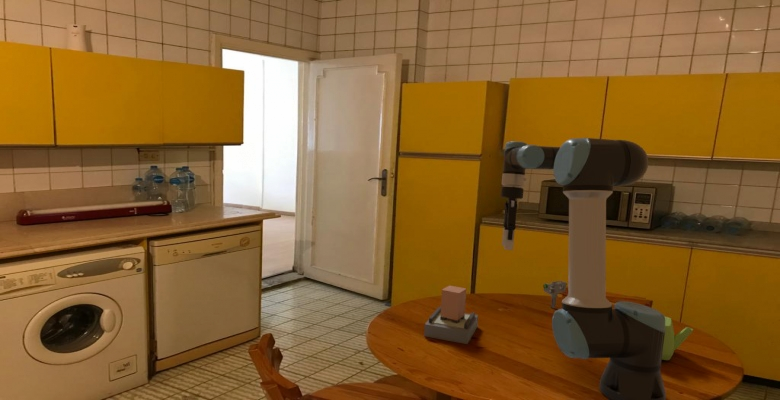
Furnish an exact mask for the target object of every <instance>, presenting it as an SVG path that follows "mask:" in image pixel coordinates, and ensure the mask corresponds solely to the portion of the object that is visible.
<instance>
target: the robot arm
mask: <svg viewBox="0 0 780 400" xmlns="http://www.w3.org/2000/svg"><path fill="white" fill-rule="evenodd" d="M504 146H505V147H504V151H503V155H504V156H503V165H502V174H501V175H502V176H501V185H502V187H501V189H500V197H501V198H506V199H507V200H506V201H505V203H504V217H503V225H502V226H503V230H502V231H503V232H502V240H501V241H502V242H501V246H502V247H504V248H503V249H504V250H508V251H514V239H515V232H516V231H515V230H516V228H517V226H516V220H517V209H518V201H517V199H518V200H521V199H524V198H523V197H524V191H525V190H524V188H523V187H524V185H525V182H526V181H527V178H526V176H525V175H526V170H552V171H553V176H554V181H555V182H556V183H557V184H559V185H560V186H562V193H563V195H565V197H567V199H568V281H567V282H568V283H567V284H568V286H567V289H568V293H567V295H566V296H565V298H563V299H562V300H561V308H558V309H557V310H555V311H554V313H553V315H552V319H551V321H552V322H551V325H552V326H551V327H552V334H553V336H554V339H555V342H556V344H557V347H558V349H560V351H561V352H562V354H564V355H565V356H566V357H568V358H572V359H582V360H587V359H608V358H609V360H608V362H607V364H606V367H605V369H604V370H603V373H602V374H601V377H600V378H599V379H600V380H599V391H600V392H601V393H602V395H604V397H606V398H607V399H608V400H666V396H667V395H666V394H667V393H666V389H665V384H664V381H663V376H662V373H661V372H662V371H661V368H662V361H663V360H662V352H663V343H664V335H665V333H666V331H665V317H666V316H665V315H664V314H663V313H662V312H660V311H659V310H657V309H656V308H652V307H651V306H647V305H644V304H640V303H637V302H632V301H626V300H625V301H624V300H618V301H617V302H615V303H614V305H613V304H612V303H611V302H610V300H608V298H607V296H606V292H607V291H606V290H607V289H606V287H607V286H606V285H607V284H606V280H607V279H606V275H607V274H606V273H607V272H606V266H607V265H606V260H607V258H606V257H607V256H606V255H607V253H606V252H607V250H606V249H607V239H606V238H607V199H608V198H609V197H610V196H611V195H612V194H613V193H614V187H625V186H629V185H632V184H635V183H637V182H639V181H640V180H641V179H643V177H644V176H645V174H646V173H647V170H648V168H649V158H648V155H647V153H646V151H645V149H644V148H643V147H641V146H640V145H639V144H637V143H635V142H633V141H630V140H626V139H608V138H607V139H606V138H594V137H583V138H581V137H579V138H570V139H567V140H565V142H563V143H562V144H561V145H560V146H545V145H544V146H543V145H542V146H540V145H536V144H527V142H524V141H507V142H506V143H505V145H504ZM613 308H614V309H613ZM664 316H665V317H664Z"/></svg>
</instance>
